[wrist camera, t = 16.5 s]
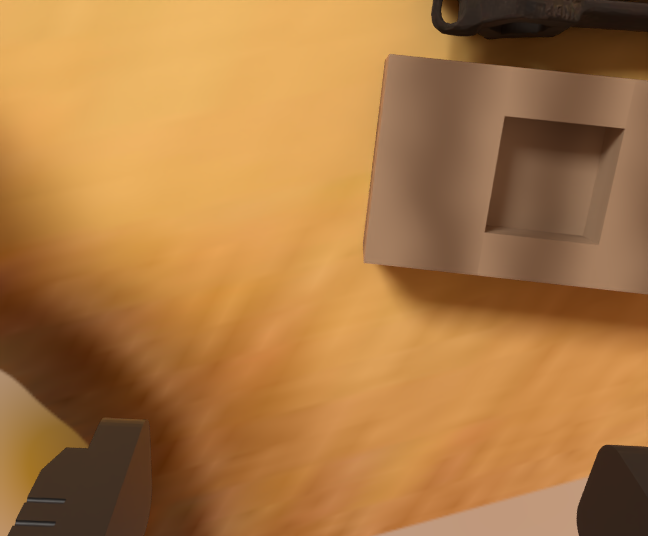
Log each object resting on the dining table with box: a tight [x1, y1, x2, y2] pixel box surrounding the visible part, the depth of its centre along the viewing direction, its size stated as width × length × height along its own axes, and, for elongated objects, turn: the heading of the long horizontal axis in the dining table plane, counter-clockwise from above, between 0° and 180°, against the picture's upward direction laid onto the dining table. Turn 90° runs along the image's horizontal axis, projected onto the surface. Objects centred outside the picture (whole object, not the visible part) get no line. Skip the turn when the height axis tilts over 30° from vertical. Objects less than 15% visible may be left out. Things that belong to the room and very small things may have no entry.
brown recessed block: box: [363, 54, 648, 294], centre depth 32 cm, size 17×10×4 cm, turn 84°
